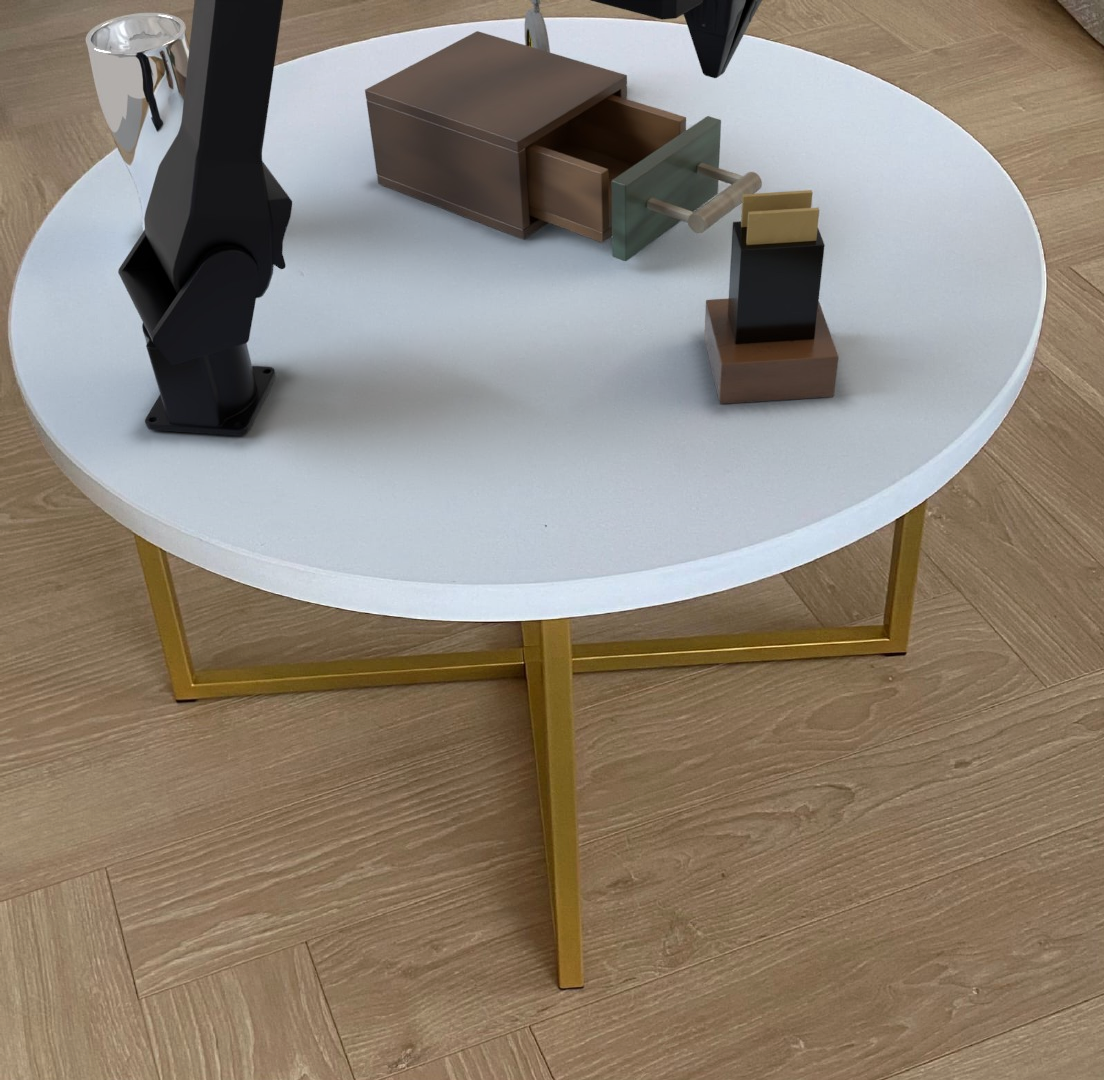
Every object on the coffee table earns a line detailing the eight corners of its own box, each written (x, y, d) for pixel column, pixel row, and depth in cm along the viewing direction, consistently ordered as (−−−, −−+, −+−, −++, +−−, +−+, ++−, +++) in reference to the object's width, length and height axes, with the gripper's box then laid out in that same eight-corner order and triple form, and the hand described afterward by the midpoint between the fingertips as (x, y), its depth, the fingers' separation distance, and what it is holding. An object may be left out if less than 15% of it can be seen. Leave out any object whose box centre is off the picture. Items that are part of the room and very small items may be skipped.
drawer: (775, 213, 97) (781, 137, 93) (684, 284, 91) (687, 206, 87) (573, 145, 106) (570, 73, 102) (477, 206, 100) (470, 132, 96)
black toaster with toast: (814, 339, 82) (828, 213, 76) (735, 344, 82) (742, 218, 76) (804, 309, 84) (817, 185, 78) (727, 315, 84) (734, 190, 78)
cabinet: (627, 170, 104) (627, 74, 99) (523, 240, 97) (517, 141, 92) (484, 121, 111) (477, 30, 106) (377, 184, 104) (364, 89, 99)
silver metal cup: (212, 260, 97) (163, 56, 87) (122, 253, 98) (63, 51, 88) (247, 211, 102) (204, 12, 92) (161, 205, 103) (109, 8, 93)
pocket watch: (636, 94, 114) (636, -27, 107) (565, 129, 110) (561, 5, 103) (568, 67, 118) (564, -51, 112) (497, 100, 114) (488, -20, 107)
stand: (834, 397, 82) (839, 356, 80) (719, 404, 82) (721, 364, 80) (812, 332, 88) (816, 292, 86) (704, 338, 88) (705, 299, 86)
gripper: (697, -250, 85) (691, -1, 96) (506, -171, 75) (523, 98, 86) (855, -227, 80) (830, 34, 91) (672, -138, 70) (668, 144, 80)
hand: (713, 74), depth 87 cm, fingers closed
